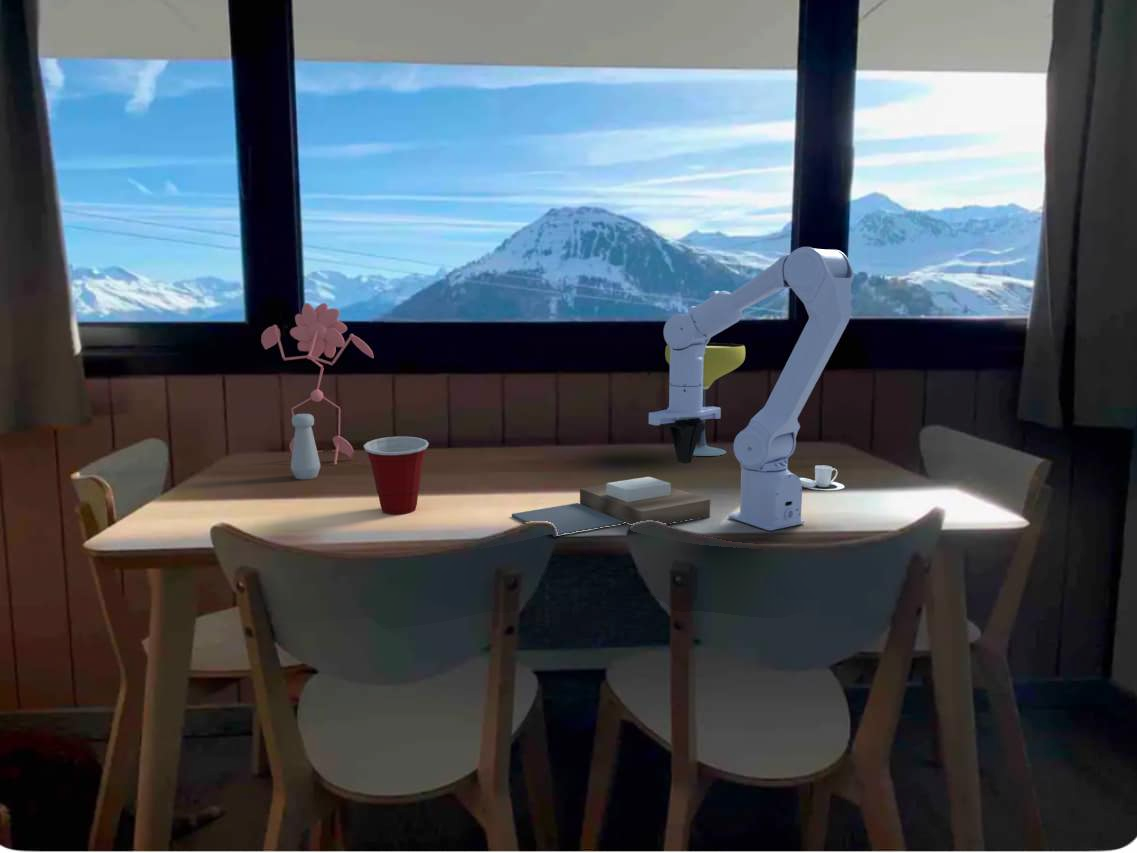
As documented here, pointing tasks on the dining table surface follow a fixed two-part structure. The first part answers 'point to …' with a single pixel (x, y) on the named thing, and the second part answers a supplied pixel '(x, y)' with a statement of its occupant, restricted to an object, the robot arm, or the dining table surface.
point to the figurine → (318, 351)
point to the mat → (569, 518)
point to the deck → (647, 506)
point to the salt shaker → (304, 448)
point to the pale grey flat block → (638, 489)
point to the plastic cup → (397, 471)
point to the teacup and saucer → (822, 478)
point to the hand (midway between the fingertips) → (684, 462)
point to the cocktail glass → (714, 366)
